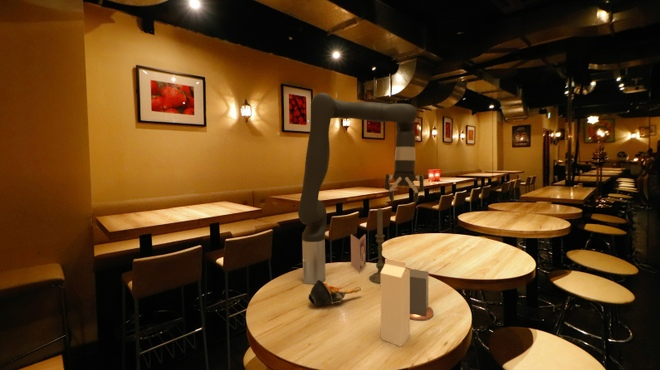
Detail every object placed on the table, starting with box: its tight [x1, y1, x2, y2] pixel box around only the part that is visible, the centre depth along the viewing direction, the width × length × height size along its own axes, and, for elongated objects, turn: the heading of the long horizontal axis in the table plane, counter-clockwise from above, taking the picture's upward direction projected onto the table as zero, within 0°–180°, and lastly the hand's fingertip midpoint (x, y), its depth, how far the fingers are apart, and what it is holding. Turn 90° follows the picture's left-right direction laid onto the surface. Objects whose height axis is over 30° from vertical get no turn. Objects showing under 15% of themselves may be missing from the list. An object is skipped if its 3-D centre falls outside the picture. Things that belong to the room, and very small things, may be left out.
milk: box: [380, 258, 411, 347], centre depth 82 cm, size 6×6×22 cm
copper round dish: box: [410, 305, 434, 322], centre depth 96 cm, size 10×10×6 cm
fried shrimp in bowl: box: [307, 280, 362, 307], centre depth 105 cm, size 9×11×18 cm
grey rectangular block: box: [407, 268, 430, 317], centre depth 96 cm, size 6×6×12 cm
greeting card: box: [350, 233, 367, 274], centre depth 136 cm, size 11×7×15 cm, turn 160°
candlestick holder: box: [368, 208, 385, 285], centre depth 122 cm, size 9×9×30 cm
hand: (403, 201), depth 114 cm, fingers open, 8 cm apart
